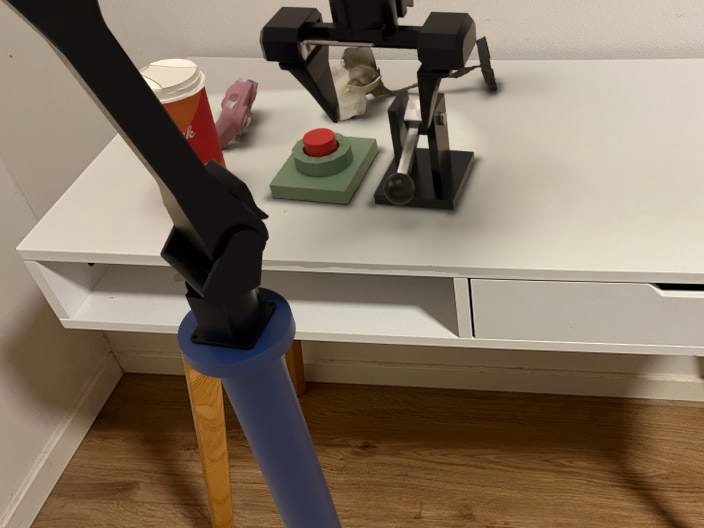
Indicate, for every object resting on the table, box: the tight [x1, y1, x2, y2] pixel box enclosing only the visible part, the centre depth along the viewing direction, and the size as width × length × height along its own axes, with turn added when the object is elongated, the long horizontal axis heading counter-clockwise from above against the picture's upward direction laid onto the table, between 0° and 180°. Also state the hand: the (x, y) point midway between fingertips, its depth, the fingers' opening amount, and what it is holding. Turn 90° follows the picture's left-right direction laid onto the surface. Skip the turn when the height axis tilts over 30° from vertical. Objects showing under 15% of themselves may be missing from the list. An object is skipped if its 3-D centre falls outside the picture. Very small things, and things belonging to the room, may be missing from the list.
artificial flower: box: [330, 35, 498, 121], centre depth 100 cm, size 9×22×10 cm, turn 96°
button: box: [302, 127, 337, 157], centre depth 89 cm, size 4×4×2 cm
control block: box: [269, 132, 379, 205], centre depth 90 cm, size 11×9×4 cm
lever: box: [384, 98, 427, 206], centre depth 82 cm, size 12×3×3 cm, turn 167°
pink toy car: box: [214, 76, 259, 148], centre depth 98 cm, size 10×5×7 cm, turn 179°
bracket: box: [373, 89, 475, 211], centre depth 86 cm, size 10×9×10 cm
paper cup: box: [138, 58, 228, 170], centre depth 86 cm, size 8×8×14 cm
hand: (381, 123), depth 76 cm, fingers open, 9 cm apart
